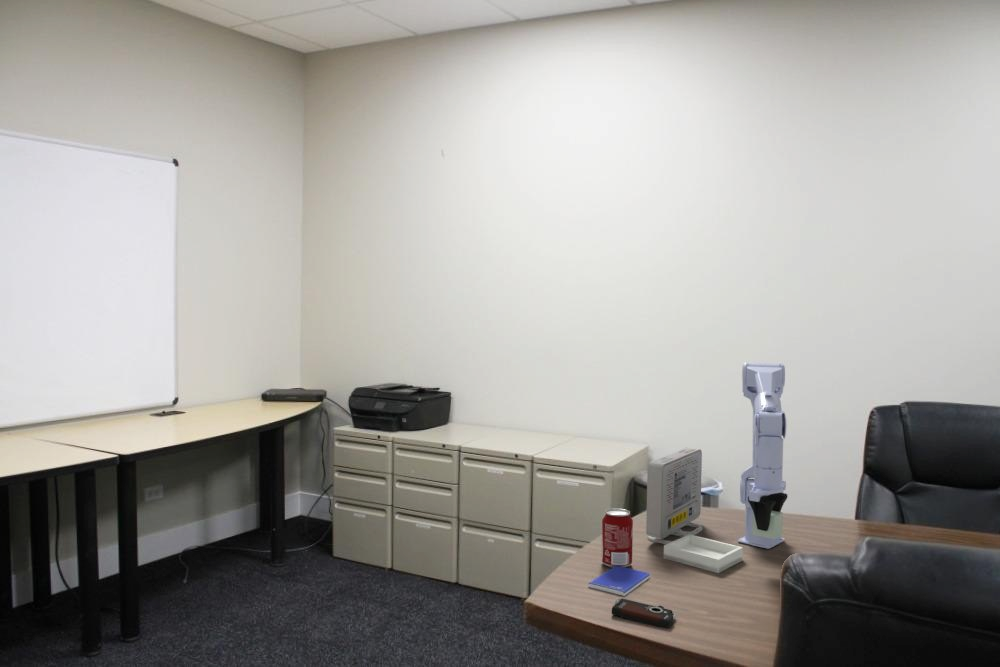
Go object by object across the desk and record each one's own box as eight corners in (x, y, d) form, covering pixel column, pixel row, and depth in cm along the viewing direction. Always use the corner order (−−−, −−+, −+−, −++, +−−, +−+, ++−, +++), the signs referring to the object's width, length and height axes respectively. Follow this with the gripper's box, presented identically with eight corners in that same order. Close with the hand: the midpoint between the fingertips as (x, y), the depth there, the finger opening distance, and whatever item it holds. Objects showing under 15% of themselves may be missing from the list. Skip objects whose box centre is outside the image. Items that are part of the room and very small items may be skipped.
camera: (623, 593, 149) (679, 606, 144) (622, 607, 149) (678, 621, 144) (611, 602, 144) (669, 616, 138) (610, 617, 144) (668, 631, 138)
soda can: (631, 571, 167) (632, 516, 167) (600, 568, 169) (601, 514, 168) (632, 561, 174) (633, 508, 173) (602, 558, 175) (603, 506, 175)
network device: (678, 518, 208) (680, 445, 207) (710, 524, 202) (712, 449, 201) (637, 543, 187) (638, 461, 186) (671, 550, 182) (672, 466, 181)
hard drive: (624, 590, 154) (649, 572, 164) (588, 581, 158) (615, 564, 168) (624, 598, 154) (649, 580, 164) (588, 589, 158) (615, 572, 168)
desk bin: (689, 546, 184) (689, 534, 184) (742, 560, 175) (742, 547, 175) (663, 558, 176) (663, 545, 176) (718, 573, 167) (718, 559, 166)
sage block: (760, 530, 172) (760, 508, 172) (782, 535, 169) (782, 512, 168) (752, 534, 169) (752, 511, 169) (774, 539, 166) (775, 516, 165)
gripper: (765, 458, 176) (763, 517, 177) (736, 468, 165) (734, 530, 166) (795, 463, 171) (793, 523, 172) (768, 474, 161) (766, 538, 161)
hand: (767, 527), depth 169 cm, fingers closed on sage block, 4 cm apart
